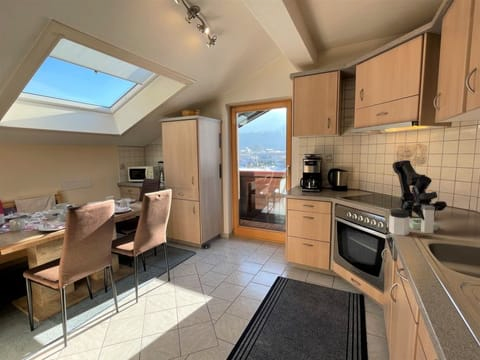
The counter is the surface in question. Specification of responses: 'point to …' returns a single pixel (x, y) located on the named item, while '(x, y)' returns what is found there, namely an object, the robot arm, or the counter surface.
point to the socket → (418, 224)
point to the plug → (427, 219)
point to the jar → (399, 222)
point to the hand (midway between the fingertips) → (428, 219)
